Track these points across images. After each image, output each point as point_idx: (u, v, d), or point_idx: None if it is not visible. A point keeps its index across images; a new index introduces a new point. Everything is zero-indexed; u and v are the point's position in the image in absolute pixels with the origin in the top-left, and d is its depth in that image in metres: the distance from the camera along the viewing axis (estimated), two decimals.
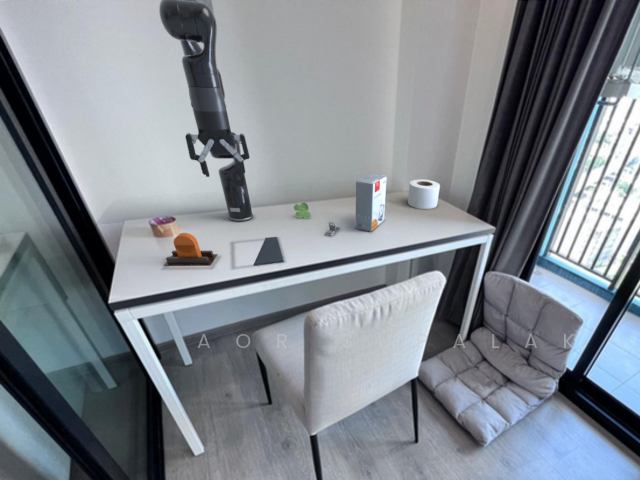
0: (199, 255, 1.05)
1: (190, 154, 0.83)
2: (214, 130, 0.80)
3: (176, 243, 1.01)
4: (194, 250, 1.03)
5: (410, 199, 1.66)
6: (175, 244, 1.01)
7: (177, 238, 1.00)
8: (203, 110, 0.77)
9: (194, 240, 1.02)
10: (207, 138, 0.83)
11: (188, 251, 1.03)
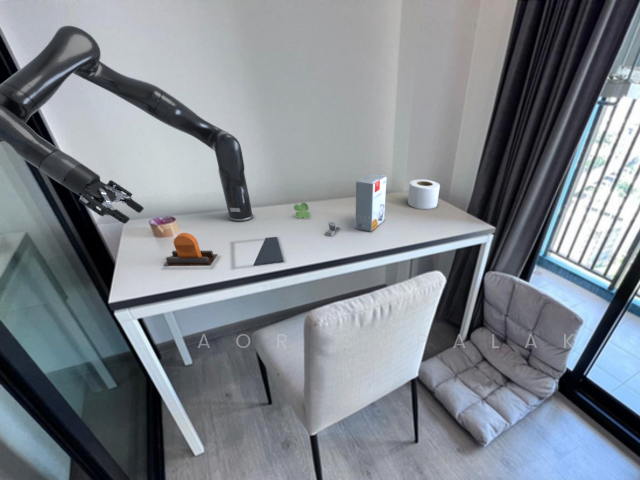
0: (199, 255, 1.05)
1: (101, 206, 0.86)
2: (96, 176, 0.88)
3: (176, 243, 1.01)
4: (194, 250, 1.03)
5: (410, 199, 1.66)
6: (175, 244, 1.01)
7: (177, 238, 1.00)
8: (75, 165, 0.85)
9: (194, 240, 1.02)
10: (96, 191, 0.88)
11: (188, 251, 1.03)
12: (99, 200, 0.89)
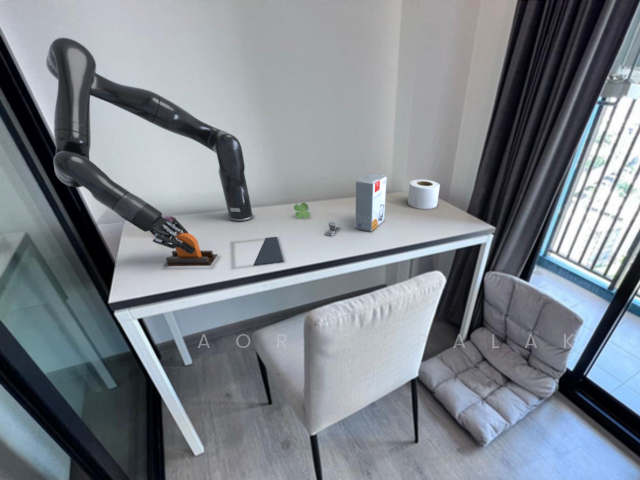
0: (199, 255, 1.05)
1: (174, 242, 0.97)
2: (160, 214, 0.97)
3: None
4: None
5: (410, 199, 1.66)
6: None
7: None
8: (142, 206, 0.93)
9: (194, 240, 1.02)
10: (160, 227, 0.97)
11: None
12: None
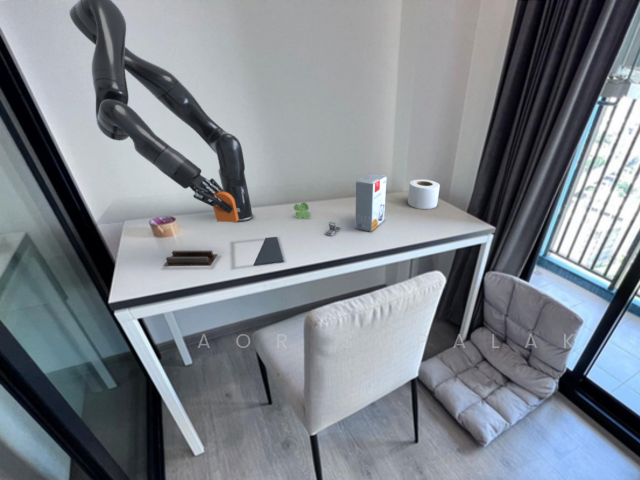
0: (236, 215, 1.04)
1: (213, 199, 0.96)
2: (199, 170, 0.95)
3: None
4: None
5: (410, 199, 1.66)
6: None
7: None
8: (183, 160, 0.92)
9: (232, 199, 1.01)
10: (199, 184, 0.95)
11: None
12: (205, 193, 0.97)
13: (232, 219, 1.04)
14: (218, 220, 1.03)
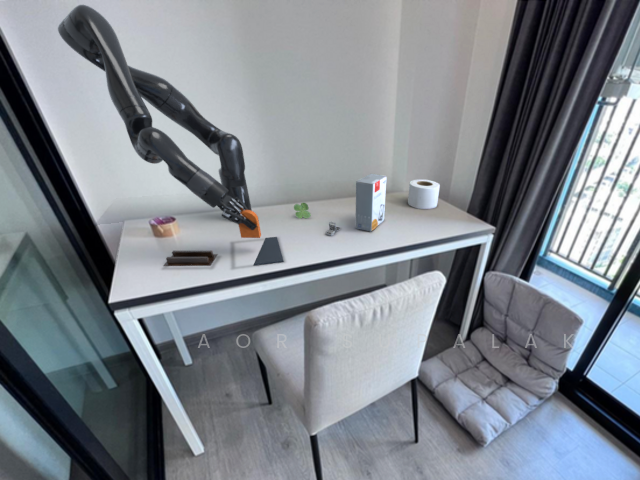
0: (259, 232, 1.10)
1: (240, 217, 1.02)
2: (227, 191, 1.01)
3: None
4: None
5: (410, 199, 1.66)
6: None
7: None
8: (213, 182, 0.98)
9: (256, 217, 1.07)
10: (227, 203, 1.02)
11: None
12: (232, 212, 1.03)
13: (255, 235, 1.10)
14: (242, 236, 1.09)
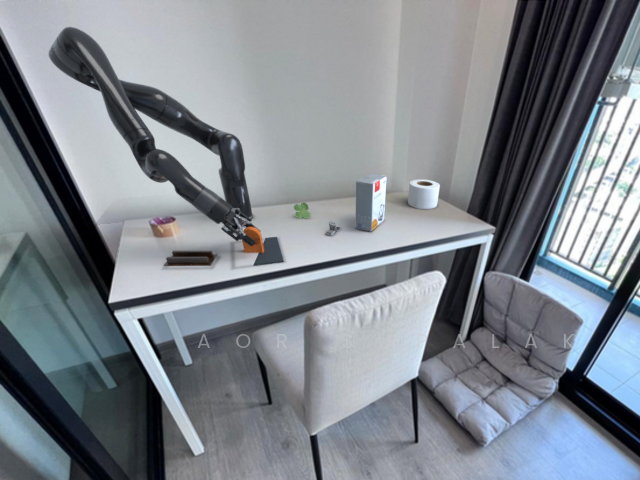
0: (262, 247, 1.13)
1: (238, 233, 1.03)
2: (231, 207, 1.05)
3: None
4: (259, 243, 1.11)
5: (410, 199, 1.66)
6: None
7: (245, 231, 1.08)
8: (217, 199, 1.01)
9: (259, 234, 1.11)
10: (231, 220, 1.05)
11: None
12: (233, 227, 1.05)
13: (258, 251, 1.13)
14: (246, 252, 1.13)
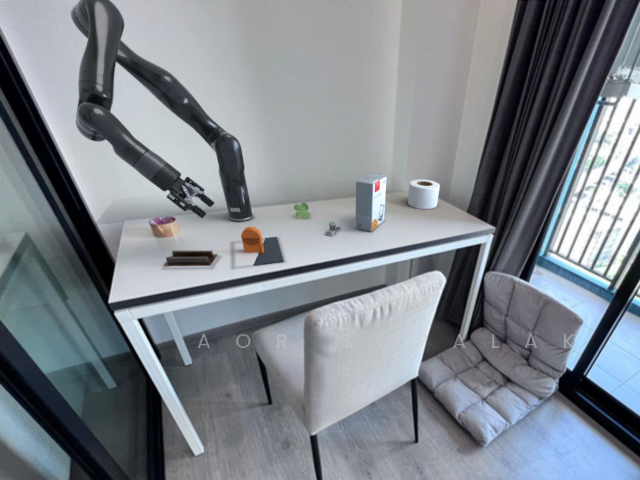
0: (262, 247, 1.13)
1: (185, 203, 0.96)
2: (179, 174, 0.97)
3: (243, 236, 1.09)
4: (259, 243, 1.11)
5: (410, 199, 1.66)
6: (242, 237, 1.09)
7: (245, 231, 1.08)
8: (163, 164, 0.94)
9: (259, 234, 1.11)
10: (179, 188, 0.98)
11: (254, 243, 1.11)
12: (181, 196, 0.98)
13: (258, 251, 1.13)
14: (246, 252, 1.13)
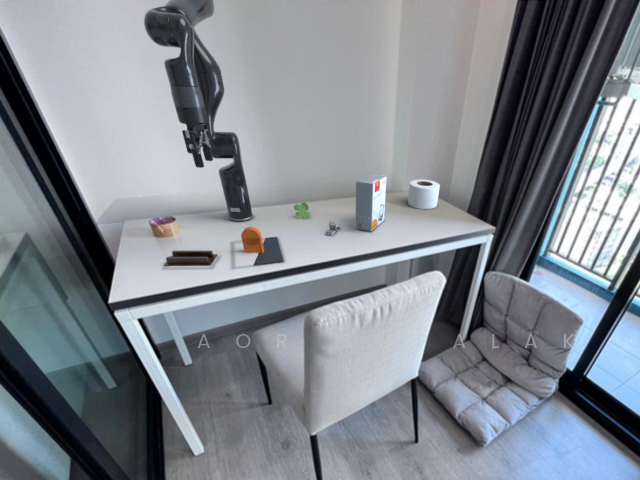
0: (262, 247, 1.13)
1: (195, 148, 0.93)
2: (207, 122, 0.96)
3: (243, 236, 1.09)
4: (259, 243, 1.11)
5: (410, 199, 1.66)
6: (242, 237, 1.09)
7: (245, 231, 1.08)
8: (201, 106, 0.92)
9: (259, 234, 1.11)
10: (197, 131, 0.95)
11: (254, 243, 1.11)
12: None
13: (258, 251, 1.13)
14: (246, 252, 1.13)
